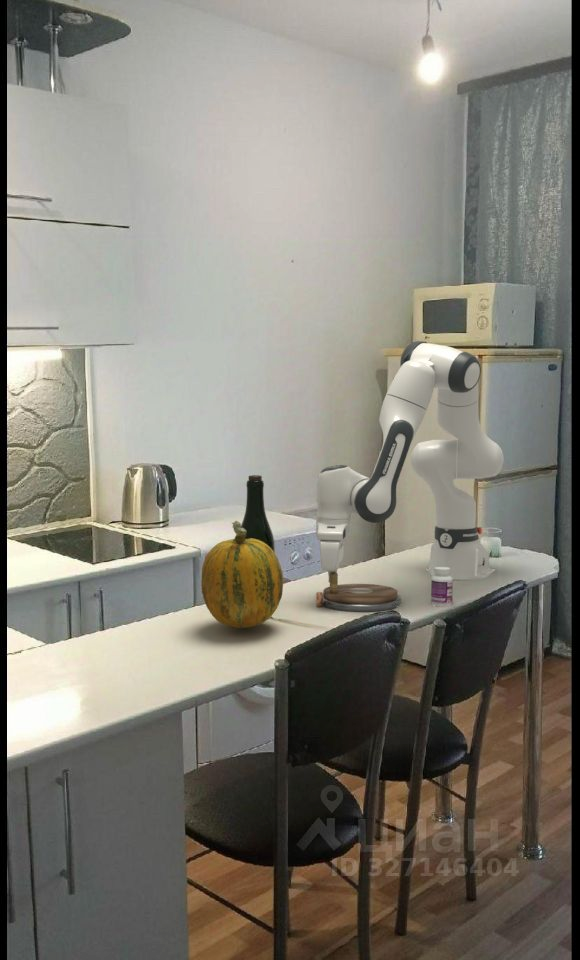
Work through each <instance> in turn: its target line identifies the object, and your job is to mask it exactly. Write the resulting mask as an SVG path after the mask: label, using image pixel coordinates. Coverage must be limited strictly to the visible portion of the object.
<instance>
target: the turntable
mask: <svg viewBox="0 0 580 960" xmlns="http://www.w3.org/2000/svg"><path fill="white" fill-rule="evenodd" d="M338 578H339V575H338V572H337V573H330V583H329V586H327V587H325V588H324V589H323V591H322V593H323V597H324V598H325V599H326V600H329V601H332V602H337V603H343V604H355V605H371V604H383V603H388V602H392V601H395V600H396V599H397V598H398V595H399V594H398V593H399V592H398V589H396V588H395V587H391V586H387V585H381V584H372V583H344V584H338V582H339V579H338Z"/></svg>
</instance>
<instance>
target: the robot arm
mask: <svg viewBox="0 0 580 960" xmlns="http://www.w3.org/2000/svg"><path fill="white" fill-rule="evenodd" d="M399 360H400V367H399V369H398V371H397V372H396V374H395V376H394V378H393V379H392V380H391V383H390V384H389V387H388V389H387V391H386V394H385V397H384V399H383V401H382V405H381V408H380V414H379V418H378V419H379V420H378V421H379V425H380V427H381V430H382V431H381V432H382V436H383V440H382V447H381V450H380V453H379V456H378V457H377V460H376V463H375V465H374V469H373V471H372V474H371V477H368V476H365V475H363V474H361V473H359V472H358V471H355V470H354V469H352V468H351V467H349V465H346V464H339V465H338V464H337V465H331V466H328V467H325V468H323V469H322V470H320V471H319V475H318V478H317V482H316V483H317V484H316V503H317V512H316V518H315V520H316V522H315V524H316V525H315V535H316V537H317V538H316V539H317V540H319V555H320V566H321V570H322V571H323V572H324V571H325V572H326V571H327V573H328V583H329V584H330V573H338V568H339V566H340V564H341V562H342V560H343V558H344V544H345V543H346V542H347V540H346V538H348V537H351V532H352V531H351V530H352V529H351V528H352V527H351V526H352V525H351V523H352V515H353V514H358V515H359V516H360V518H361V519H362V520H364V521H366V522H368V523H372V524H373V523H374V524H375V523H377V524H378V523H379V524H380V523H382V522H385V521H387V520H388V519H390V518H391V516H392V515H393V514H394V512H395V509H396V507H397V484H398V481H399V479H400V475H401V473H402V469H403V466H404V463H405V461H406V458H407V456H408V454H409V453H408V452H409V450H410V446H411V445H412V442H413V441H414V438H415V435H416V434H417V432H418V429H419V428H420V426H421V424H422V422H423V420H424V417H425V416H426V413H427V411H428V408H429V405H430V402H431V400H432V399H431V398H432V396H433V393H434V388H437V400H436V402H437V408H436V409H437V411H436V412H437V414H436V415H437V416H436V417H437V423H438V426H439V427H440V428H441V429H442V430H443V431H444V432H445V433H447V434H449V435H450V436H453V437H454V438H456V439H431V440H426V441H421V442H418V443H417V444H416V445H414V447H413V449H412V451H411V456H410V463H411V467H412V469H413V471H414V472H415V474H417V476H419V477H420V478H421V479H422V480H424V481H425V483H426V484H427V485H428V486H429V488H430V490H431V492H432V494H433V496H434V497H433V498H434V500H435V501H434V502H435V512H436V513H435V514H436V518H435V519H436V525H435V526H434V531H433V534H434V540H435V541H434V542H433V543H432V544H431V546H430V553H429V555H430V556H429V566H428V568H425V571H426V572H427V573H429V575H430V576H431V577H433V576H434V575H435V573H434V568H435V567H448V568H450V574H449V576H451V577H452V579H453V581H467V580H468V581H469V580H485V579H487V578H488V577H489V576H490V575H491V574H493V573H494V572H495V571H496V569H495V568H491V567H490V554H489V551H488V550H487V549H486V548H485V547H484V545H483V544H482V543H481V542H480V541H479V539H480V535H482V533H483V528H482V527H481V526H479V527H477V526H476V525H477V521H476V520H477V503H476V500H475V499H474V497H473V496H472V495H471V494H470V493H468V492H466V491H464V490H462V489H460V488H458V487H457V486H456V484H454V480H456V479H471V480H473V479H475V480H480V479H486V478H493V477H496V476H498V474H499V473H500V472H501V470H502V468H503V465H504V462H505V461H504V460H505V457H504V452H503V449H502V448H501V447H500V445H499V444H498V443H497V442H495V441H493V440H492V439H491V438H490V437H488V435H487V434H486V433H485V432H484V430H483V428H482V426H481V423H480V417H479V380H480V379H481V378H480V377H481V374H482V373H481V371H482V368H481V363H480V361H479V359H478V358H477V357H476V356H475V355H474V354H471V353H469V352H468V351H462V350H459V349H457V348H455V347H451V346H449V345H448V346H447V345H442V344H436V343H431V342H430V343H429V342H427V341H423V340H422V341H419V340H417V341H416V340H415V341H412V342H411V343H410V344H409V345H407V346H406V347H405V348H404V349H403V351H402V354H401V356H400V359H399Z"/></svg>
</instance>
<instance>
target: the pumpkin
mask: <svg viewBox="0 0 580 960" xmlns="http://www.w3.org/2000/svg"><path fill="white" fill-rule="evenodd" d="M241 524H242V522H239V521H238V520H235V521H234V522H231V525H232V528H233V531H234V533H235V536H234V538H233V539H227V540H223V541H221V542H218V543H217V544H215V545H214V546H213V547H212V548H211V549H210V550H209V551H208V553H207V554H206V556H205V558H204V561H203V563H202V567H201V580H200V581H201V582H200V584H201V594H202V598H203V601H204V604H205V606H206V608H207V610H208V611H209V613H210V614H211V615H212V617H213V618H214V619H215V620H216V621H217V622H218V623H220V624H222V625H224V626H226V627H230V628H239V629H240V628H252V627H256V626H259V625H261V624H263V623H265V622H267V621H268V620H269V619H270V618H271V617H272V616H273V615H274V613H275V612H277V609H278V607H279V604H280V602H281V600H282V596H283V591H284V574H283V570H282V566H281V563H280V561H279V559H278V556H277V554H276V552H275V553H274V551H273V550H272V549H271V548H270V547H269V546H268V545H267V544H265V543H264V542H262V541H260V540H257V539H253V538H250V539H245V537H246V533H247V531H246V530H245V529H244V528H241Z"/></svg>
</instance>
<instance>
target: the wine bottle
mask: <svg viewBox="0 0 580 960" xmlns="http://www.w3.org/2000/svg"><path fill="white" fill-rule="evenodd" d="M262 479H263V476H262V475H259V474H258V475H255V474H252V475H249V476H248V480H246V503H245V504H246V505H245V512H244V517H243V520H242V522H241V528H244V529H245V530H246V531H247V533H246V537H245V539H250V538H253V539H257V540H260V541H262V542H264V543H265V544H267V545H268V546H269V547H270V548H271V549H272V550H273V551H274V553H275V554H276V546H275V539H274V534H273V532H272V528H271V526H270V523H269V521H268V517H267V515H266V509H265V508H266V507H265V497H264V488H265V487H264V486H265V483H264V480H262Z"/></svg>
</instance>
